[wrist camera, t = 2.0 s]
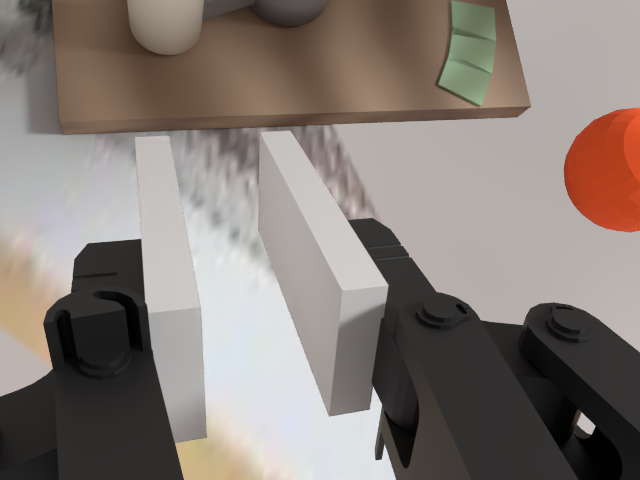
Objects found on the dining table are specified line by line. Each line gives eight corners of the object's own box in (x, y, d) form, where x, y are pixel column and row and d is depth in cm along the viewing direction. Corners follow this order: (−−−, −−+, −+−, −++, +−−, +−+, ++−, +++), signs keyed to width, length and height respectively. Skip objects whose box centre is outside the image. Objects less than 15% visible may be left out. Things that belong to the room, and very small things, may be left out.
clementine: (661, 243, 38) (769, 210, 31) (573, 275, 36) (668, 248, 29) (610, 127, 39) (702, 71, 32) (522, 151, 37) (601, 97, 30)
